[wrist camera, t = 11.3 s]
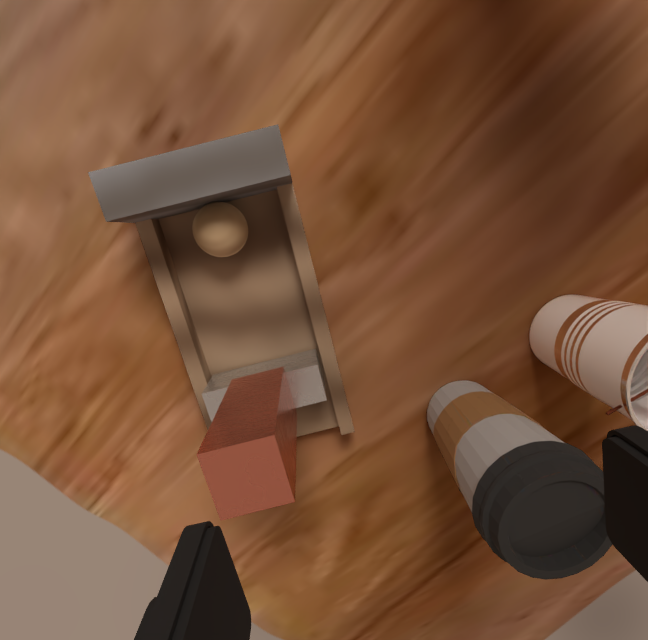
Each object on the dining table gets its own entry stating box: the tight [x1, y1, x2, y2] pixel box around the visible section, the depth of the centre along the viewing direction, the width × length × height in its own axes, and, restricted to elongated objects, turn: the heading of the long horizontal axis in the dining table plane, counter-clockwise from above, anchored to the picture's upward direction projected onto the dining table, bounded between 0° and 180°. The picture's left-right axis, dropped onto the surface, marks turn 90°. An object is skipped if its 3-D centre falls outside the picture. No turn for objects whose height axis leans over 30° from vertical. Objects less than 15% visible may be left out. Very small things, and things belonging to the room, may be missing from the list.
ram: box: [197, 349, 327, 520], centre depth 27 cm, size 4×9×14 cm, turn 104°
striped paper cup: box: [529, 295, 648, 431], centre depth 30 cm, size 10×8×12 cm
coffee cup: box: [427, 380, 612, 579], centre depth 30 cm, size 8×8×15 cm
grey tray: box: [88, 125, 355, 437], centre depth 30 cm, size 24×12×7 cm, turn 14°
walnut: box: [192, 202, 248, 257], centre depth 29 cm, size 4×4×4 cm
